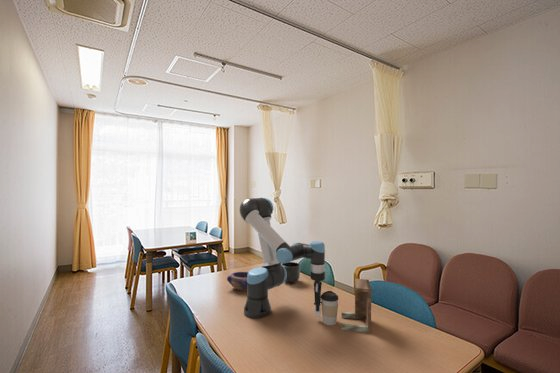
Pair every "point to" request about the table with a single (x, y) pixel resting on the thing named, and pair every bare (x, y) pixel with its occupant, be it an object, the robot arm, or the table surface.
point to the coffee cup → (329, 307)
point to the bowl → (238, 280)
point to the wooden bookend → (360, 307)
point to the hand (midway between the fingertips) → (317, 316)
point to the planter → (292, 272)
